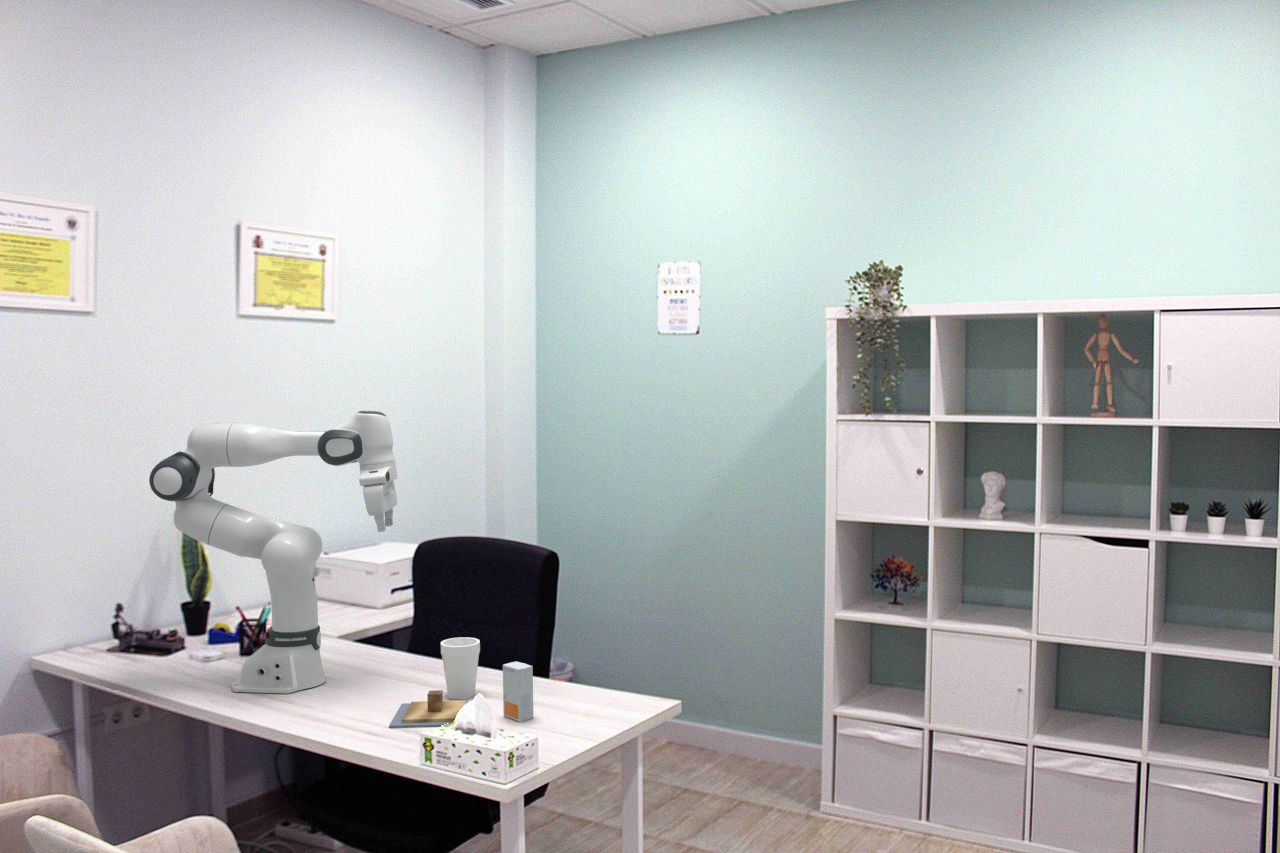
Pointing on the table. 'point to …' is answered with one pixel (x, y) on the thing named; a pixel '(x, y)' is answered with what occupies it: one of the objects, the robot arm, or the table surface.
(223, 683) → the table surface
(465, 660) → the foam cup
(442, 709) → the oak lid
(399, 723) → the slate mat
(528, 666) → the skincare box
